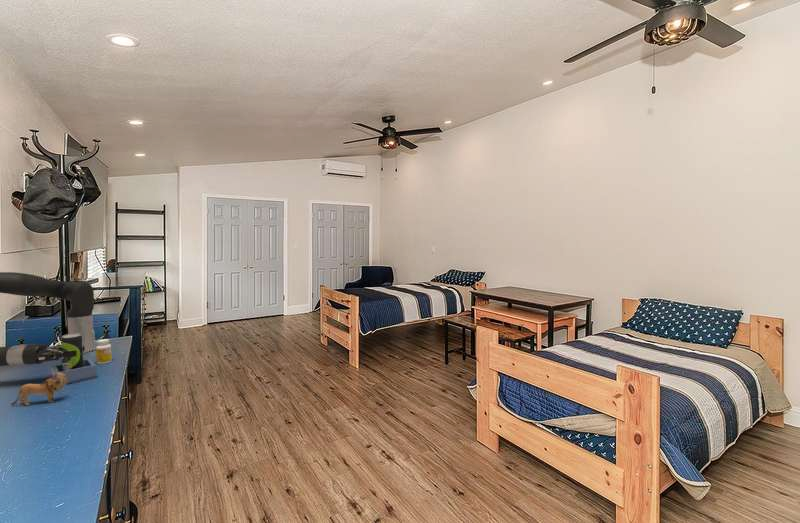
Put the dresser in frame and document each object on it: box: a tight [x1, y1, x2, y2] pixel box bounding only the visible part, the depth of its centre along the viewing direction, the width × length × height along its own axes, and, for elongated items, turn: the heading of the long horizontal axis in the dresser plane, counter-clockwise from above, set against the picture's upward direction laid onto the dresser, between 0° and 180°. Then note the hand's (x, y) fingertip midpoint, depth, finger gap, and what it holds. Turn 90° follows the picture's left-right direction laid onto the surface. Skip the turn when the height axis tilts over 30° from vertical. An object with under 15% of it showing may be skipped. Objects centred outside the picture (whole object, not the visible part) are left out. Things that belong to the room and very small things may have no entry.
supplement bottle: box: [95, 338, 113, 365], centre depth 171 cm, size 5×5×10 cm
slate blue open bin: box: [50, 358, 98, 385], centre depth 152 cm, size 12×12×5 cm
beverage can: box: [60, 333, 84, 371], centre depth 152 cm, size 6×6×15 cm
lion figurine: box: [10, 373, 67, 406], centre depth 131 cm, size 15×5×9 cm, turn 118°
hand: (80, 350), depth 152 cm, fingers closed on beverage can, 5 cm apart
